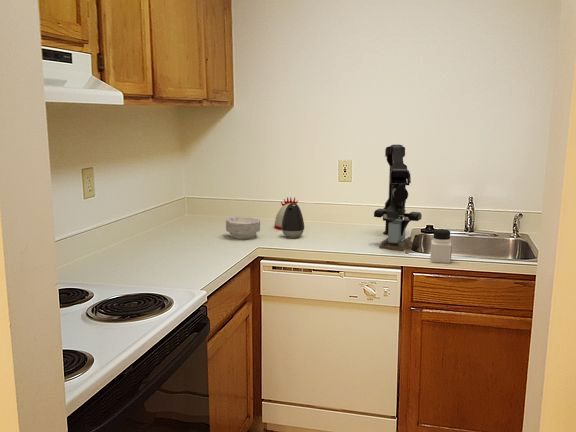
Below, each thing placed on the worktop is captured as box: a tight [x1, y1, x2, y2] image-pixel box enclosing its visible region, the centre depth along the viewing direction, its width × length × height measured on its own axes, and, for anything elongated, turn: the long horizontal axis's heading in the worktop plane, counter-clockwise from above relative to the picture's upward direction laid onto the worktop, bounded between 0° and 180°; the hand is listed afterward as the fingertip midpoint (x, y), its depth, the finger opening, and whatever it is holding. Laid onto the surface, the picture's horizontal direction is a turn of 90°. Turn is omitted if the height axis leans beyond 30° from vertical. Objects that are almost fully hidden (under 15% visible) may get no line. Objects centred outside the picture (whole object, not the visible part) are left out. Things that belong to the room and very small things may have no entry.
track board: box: [378, 236, 414, 252], centre depth 245 cm, size 14×10×3 cm
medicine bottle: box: [430, 228, 453, 264], centre depth 221 cm, size 7×7×12 cm
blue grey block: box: [387, 219, 406, 243], centre depth 244 cm, size 10×4×8 cm, turn 152°
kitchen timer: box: [274, 196, 299, 231], centre depth 281 cm, size 14×14×15 cm
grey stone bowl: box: [225, 216, 261, 240], centre depth 261 cm, size 15×15×8 cm
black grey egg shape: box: [281, 203, 305, 239], centre depth 261 cm, size 10×10×15 cm
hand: (396, 235), depth 245 cm, fingers closed on blue grey block, 4 cm apart
